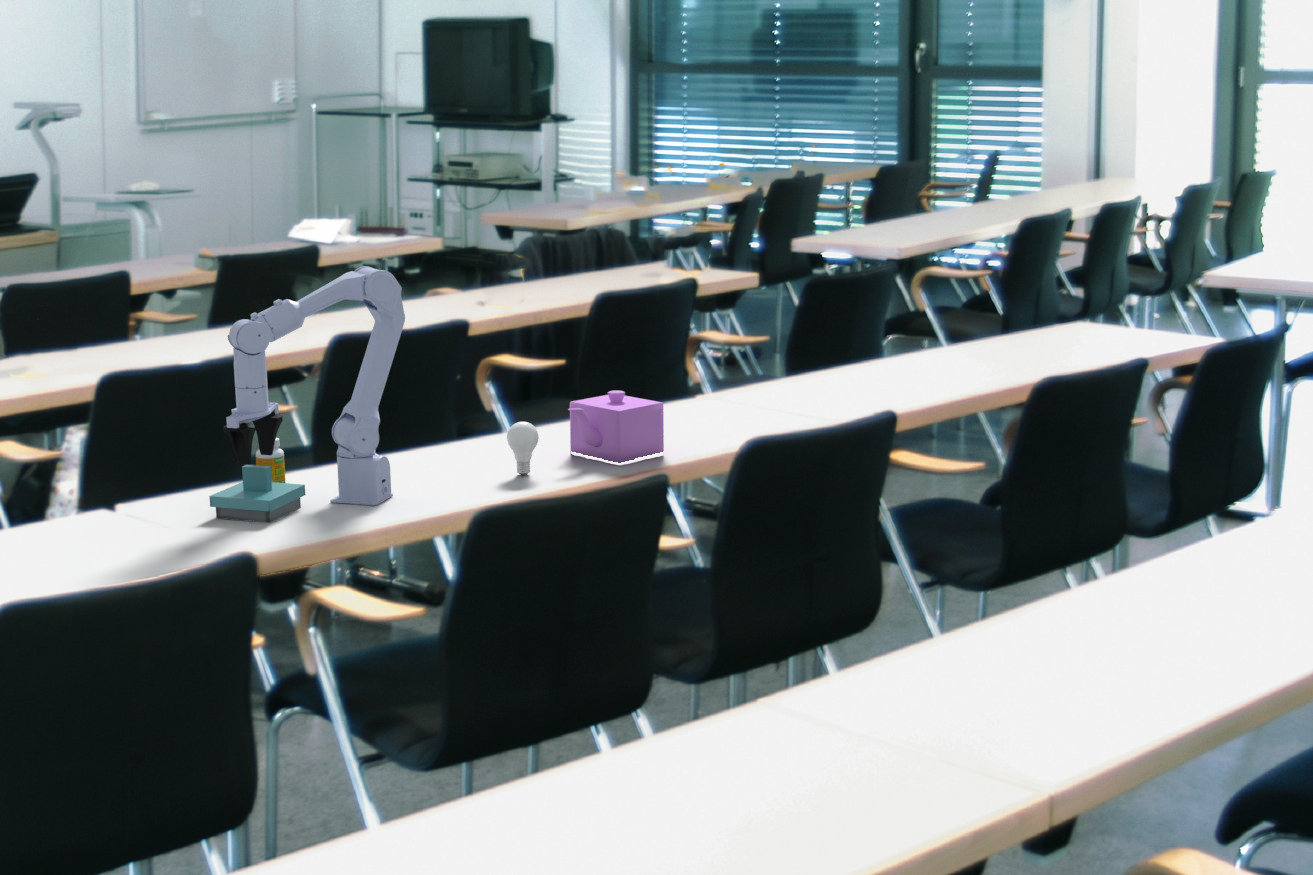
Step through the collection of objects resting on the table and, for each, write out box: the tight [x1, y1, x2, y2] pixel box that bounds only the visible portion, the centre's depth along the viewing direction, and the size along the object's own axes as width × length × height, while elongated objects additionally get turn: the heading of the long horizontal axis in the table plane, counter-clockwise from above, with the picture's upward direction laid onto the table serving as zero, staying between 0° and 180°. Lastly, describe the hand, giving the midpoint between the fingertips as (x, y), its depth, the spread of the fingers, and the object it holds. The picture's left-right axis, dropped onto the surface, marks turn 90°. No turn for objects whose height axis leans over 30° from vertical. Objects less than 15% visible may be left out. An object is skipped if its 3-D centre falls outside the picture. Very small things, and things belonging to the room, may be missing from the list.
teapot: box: [567, 390, 665, 463], centre depth 331 cm, size 15×25×14 cm, turn 135°
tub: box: [215, 497, 302, 524], centre depth 288 cm, size 11×11×4 cm
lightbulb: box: [506, 421, 539, 476], centre depth 315 cm, size 6×6×11 cm
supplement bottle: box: [255, 437, 286, 483], centre depth 306 cm, size 5×5×10 cm
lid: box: [209, 464, 306, 512], centre depth 287 cm, size 12×12×6 cm
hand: (255, 459), depth 286 cm, fingers open, 7 cm apart
